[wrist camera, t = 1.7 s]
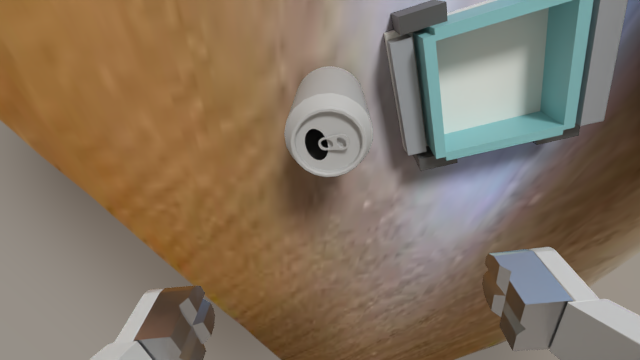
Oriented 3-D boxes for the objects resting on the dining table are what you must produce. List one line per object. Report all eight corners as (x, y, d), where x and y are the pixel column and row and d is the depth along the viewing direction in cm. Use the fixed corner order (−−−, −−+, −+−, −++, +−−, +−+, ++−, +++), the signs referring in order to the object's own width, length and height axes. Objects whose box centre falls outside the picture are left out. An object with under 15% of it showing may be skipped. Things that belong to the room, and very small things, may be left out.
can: (288, 74, 33) (268, 112, 23) (356, 56, 32) (366, 88, 22) (307, 135, 37) (297, 192, 27) (368, 121, 36) (382, 175, 26)
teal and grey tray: (586, -50, 27) (639, -57, 22) (564, 118, 35) (600, 139, 30) (380, 16, 30) (389, 22, 25) (404, 156, 38) (414, 179, 33)
